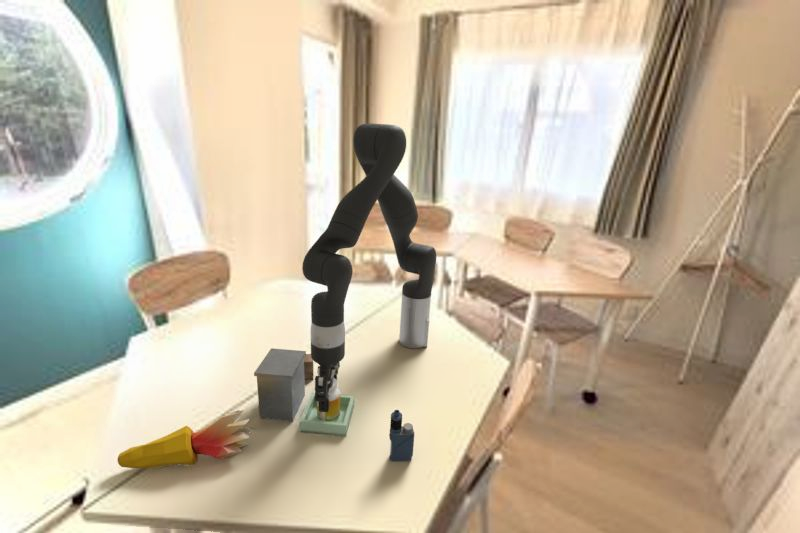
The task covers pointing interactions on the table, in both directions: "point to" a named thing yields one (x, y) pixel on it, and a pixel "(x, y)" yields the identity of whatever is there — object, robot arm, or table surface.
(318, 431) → the tray
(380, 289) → the table surface
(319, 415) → the supplement bottle
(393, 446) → the vaping device
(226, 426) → the torch
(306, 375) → the walnut block
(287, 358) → the box
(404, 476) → the table surface
